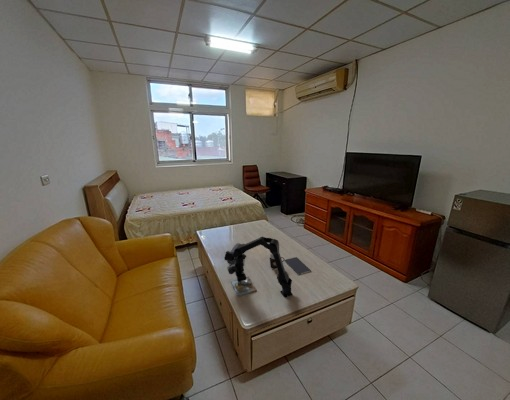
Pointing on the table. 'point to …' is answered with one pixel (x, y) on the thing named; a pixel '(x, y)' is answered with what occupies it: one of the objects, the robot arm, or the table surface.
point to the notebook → (297, 266)
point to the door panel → (243, 288)
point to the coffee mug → (273, 262)
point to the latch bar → (245, 282)
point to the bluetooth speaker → (233, 251)
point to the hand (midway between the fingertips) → (239, 280)
